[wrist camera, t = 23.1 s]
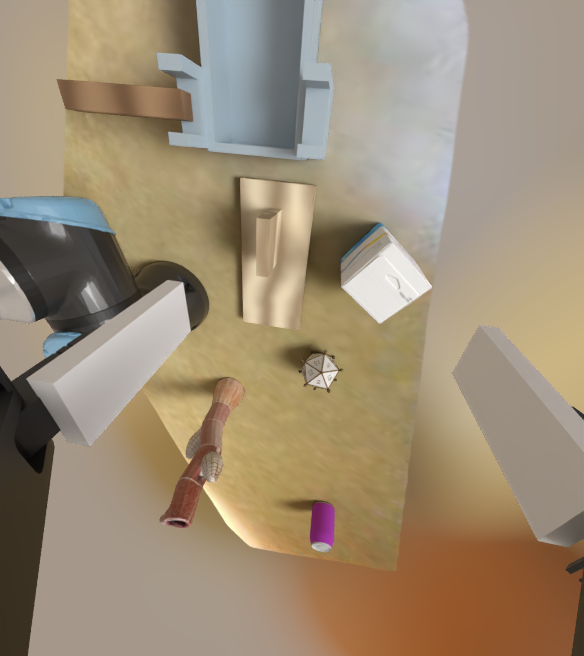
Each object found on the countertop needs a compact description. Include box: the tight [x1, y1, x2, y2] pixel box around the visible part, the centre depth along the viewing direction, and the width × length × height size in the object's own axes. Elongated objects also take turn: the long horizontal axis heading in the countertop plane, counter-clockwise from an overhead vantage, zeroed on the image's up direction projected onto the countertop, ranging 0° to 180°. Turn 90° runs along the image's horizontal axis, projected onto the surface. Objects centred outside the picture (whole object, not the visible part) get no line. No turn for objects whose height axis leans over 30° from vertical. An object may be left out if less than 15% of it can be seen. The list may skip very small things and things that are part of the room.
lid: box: [240, 177, 316, 330], centre depth 43 cm, size 11×25×10 cm, turn 175°
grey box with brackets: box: [157, 0, 334, 160], centre depth 27 cm, size 17×26×12 cm, turn 175°
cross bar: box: [57, 79, 194, 122], centre depth 30 cm, size 14×2×2 cm, turn 85°
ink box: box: [341, 223, 432, 324], centre depth 39 cm, size 8×8×12 cm
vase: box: [160, 378, 245, 529], centre depth 54 cm, size 10×7×30 cm
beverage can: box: [310, 501, 334, 552], centre depth 87 cm, size 8×8×12 cm
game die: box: [298, 350, 343, 393], centre depth 54 cm, size 9×8×10 cm
